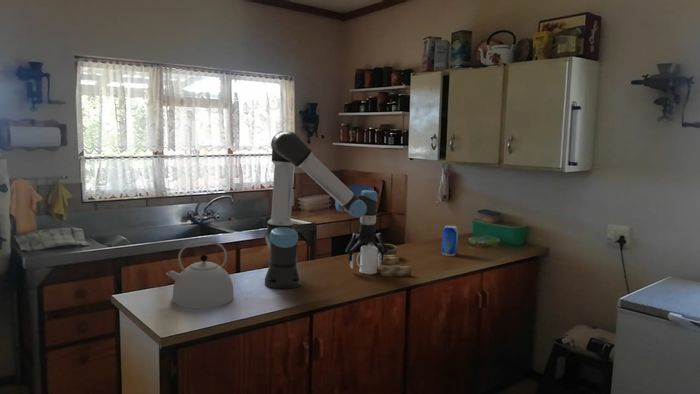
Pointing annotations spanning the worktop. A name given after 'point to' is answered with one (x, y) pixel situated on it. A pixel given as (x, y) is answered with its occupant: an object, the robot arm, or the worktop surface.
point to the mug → (368, 259)
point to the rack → (392, 267)
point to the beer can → (449, 240)
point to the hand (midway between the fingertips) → (365, 267)
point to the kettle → (202, 283)
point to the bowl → (389, 247)
